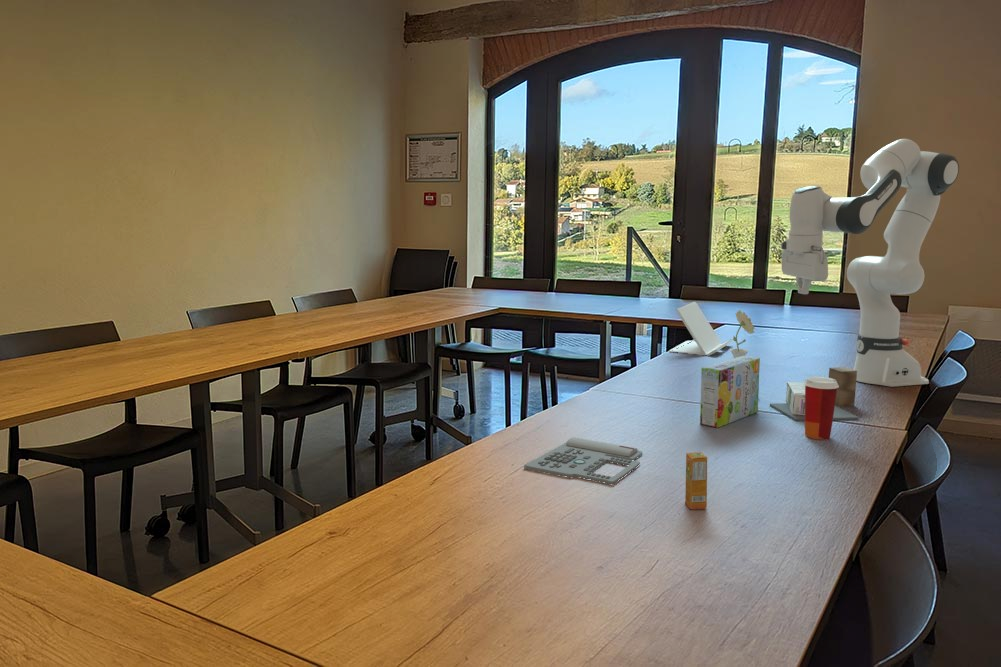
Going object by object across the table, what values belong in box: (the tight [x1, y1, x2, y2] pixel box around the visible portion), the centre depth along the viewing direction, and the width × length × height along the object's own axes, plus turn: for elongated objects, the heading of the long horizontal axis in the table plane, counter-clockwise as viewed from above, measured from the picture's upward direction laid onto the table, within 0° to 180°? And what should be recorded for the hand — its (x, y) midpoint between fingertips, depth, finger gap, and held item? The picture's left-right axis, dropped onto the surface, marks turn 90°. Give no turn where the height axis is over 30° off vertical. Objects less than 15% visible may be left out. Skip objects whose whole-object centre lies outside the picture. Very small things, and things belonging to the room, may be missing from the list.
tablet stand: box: [668, 301, 733, 357], centre depth 290 cm, size 18×25×17 cm
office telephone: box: [523, 436, 643, 485], centre depth 163 cm, size 23×3×20 cm
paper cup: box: [802, 376, 839, 440], centre depth 180 cm, size 8×8×14 cm
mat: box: [769, 402, 859, 422], centre depth 202 cm, size 17×15×1 cm
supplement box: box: [684, 451, 708, 510], centre depth 138 cm, size 3×3×10 cm
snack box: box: [699, 355, 761, 429], centre depth 195 cm, size 21×6×15 cm, turn 135°
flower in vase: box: [729, 309, 755, 359], centre depth 217 cm, size 13×11×25 cm
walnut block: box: [828, 366, 857, 408], centre depth 210 cm, size 5×5×10 cm
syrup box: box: [785, 381, 805, 415], centre depth 203 cm, size 6×6×14 cm
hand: (803, 293), depth 215 cm, fingers closed
